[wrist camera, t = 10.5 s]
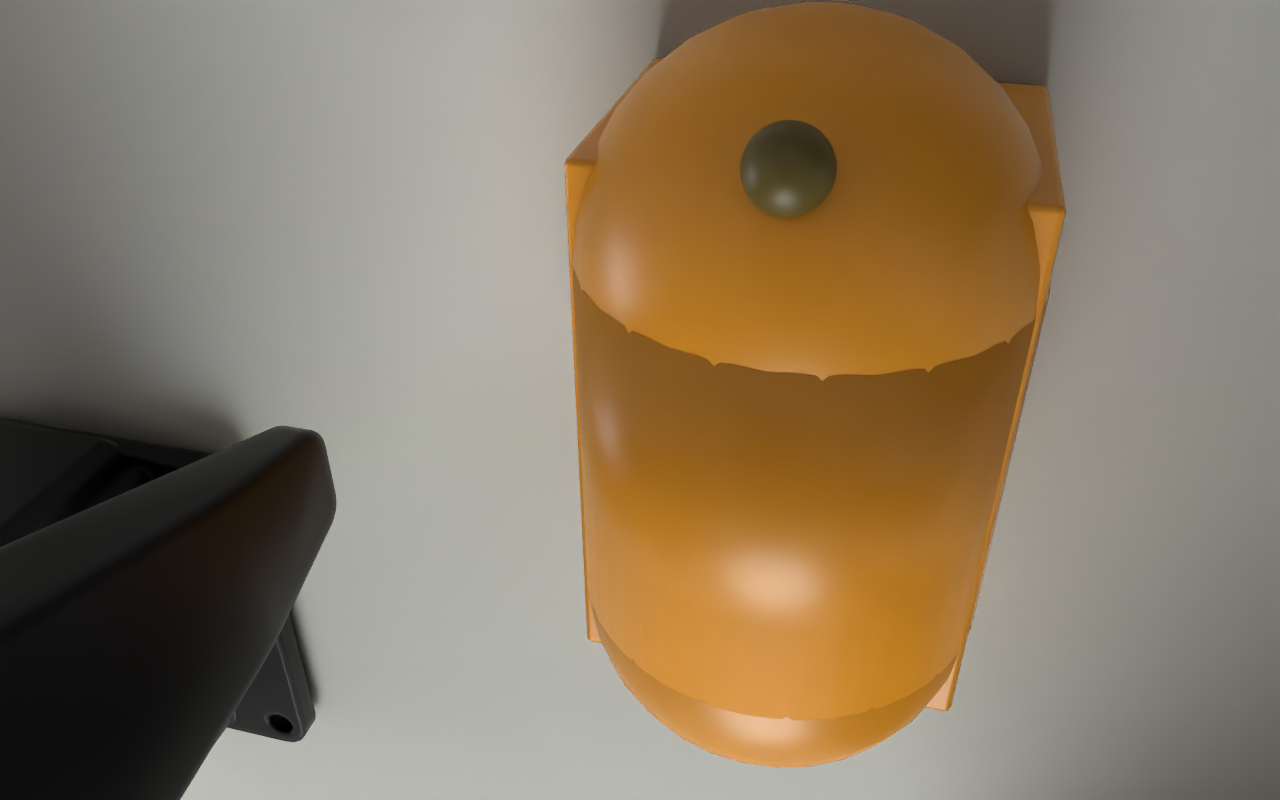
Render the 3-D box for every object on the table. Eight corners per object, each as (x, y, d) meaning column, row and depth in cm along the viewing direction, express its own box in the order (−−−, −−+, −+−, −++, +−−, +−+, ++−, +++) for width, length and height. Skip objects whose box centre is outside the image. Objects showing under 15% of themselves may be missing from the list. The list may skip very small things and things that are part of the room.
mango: (950, 596, 15) (938, 894, 11) (646, 542, 16) (544, 802, 12) (1085, -39, 10) (1140, 118, 7) (643, -61, 11) (477, 68, 8)
